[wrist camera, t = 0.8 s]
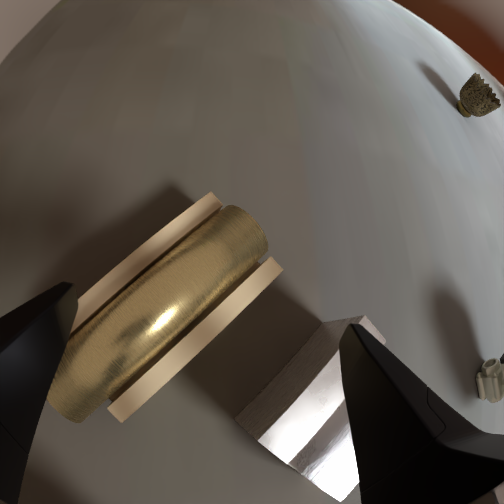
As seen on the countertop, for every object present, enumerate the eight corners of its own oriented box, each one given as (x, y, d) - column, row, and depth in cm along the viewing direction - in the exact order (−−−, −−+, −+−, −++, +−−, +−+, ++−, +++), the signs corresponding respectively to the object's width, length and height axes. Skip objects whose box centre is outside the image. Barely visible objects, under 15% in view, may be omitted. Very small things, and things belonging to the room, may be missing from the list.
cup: (454, 92, 45) (479, 71, 38) (477, 123, 45) (503, 103, 37) (443, 97, 42) (471, 73, 35) (468, 131, 42) (498, 108, 34)
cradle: (304, 475, 20) (340, 501, 15) (233, 418, 20) (257, 440, 15) (379, 384, 24) (424, 388, 19) (322, 322, 24) (364, 315, 19)
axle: (89, 415, 16) (72, 429, 12) (49, 368, 16) (25, 371, 13) (257, 261, 22) (276, 242, 19) (219, 220, 23) (230, 194, 19)
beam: (126, 411, 18) (121, 423, 15) (59, 333, 18) (43, 331, 15) (267, 279, 23) (283, 269, 20) (203, 210, 23) (210, 191, 20)
